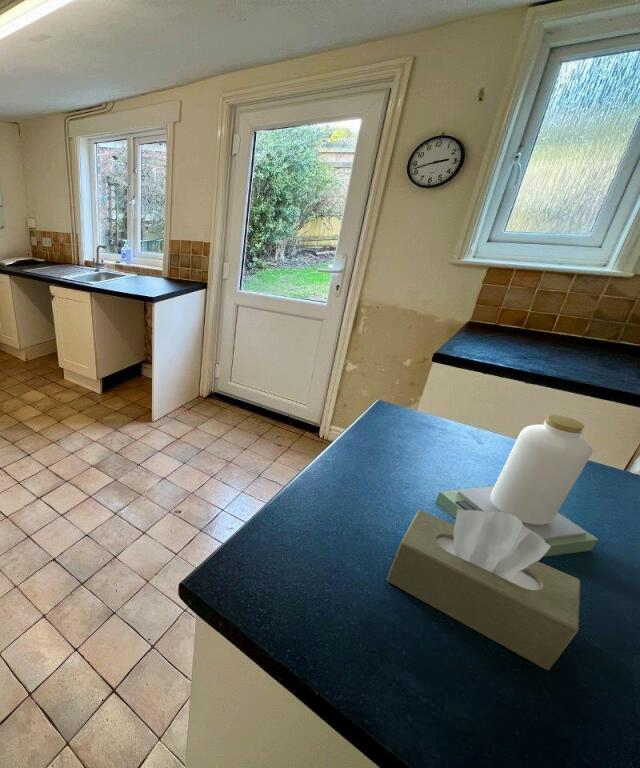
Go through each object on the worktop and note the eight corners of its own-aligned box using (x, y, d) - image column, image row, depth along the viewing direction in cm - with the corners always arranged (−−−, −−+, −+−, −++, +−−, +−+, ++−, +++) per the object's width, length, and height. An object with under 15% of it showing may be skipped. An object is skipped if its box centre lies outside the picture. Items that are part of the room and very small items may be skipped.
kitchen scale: (509, 493, 80) (515, 480, 79) (591, 550, 68) (600, 536, 66) (435, 501, 78) (440, 488, 77) (505, 561, 66) (513, 547, 64)
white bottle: (493, 487, 77) (534, 403, 69) (553, 511, 72) (605, 421, 64) (483, 509, 72) (526, 420, 64) (548, 536, 66) (603, 442, 59)
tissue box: (556, 621, 57) (614, 536, 50) (551, 674, 51) (617, 585, 44) (402, 544, 69) (432, 467, 62) (383, 580, 63) (414, 499, 56)
